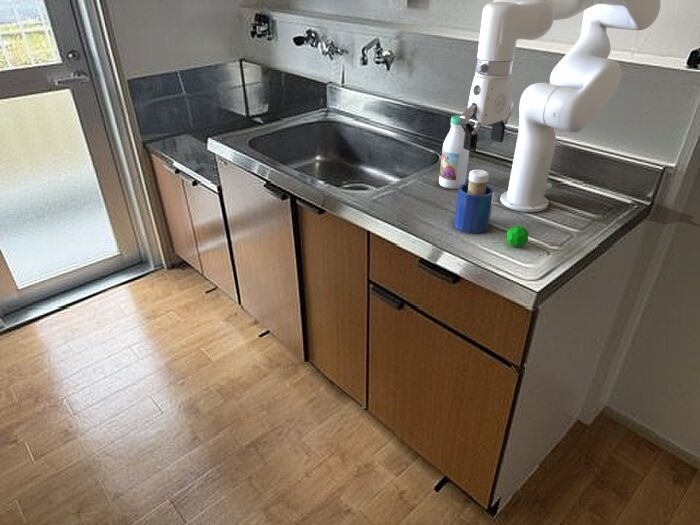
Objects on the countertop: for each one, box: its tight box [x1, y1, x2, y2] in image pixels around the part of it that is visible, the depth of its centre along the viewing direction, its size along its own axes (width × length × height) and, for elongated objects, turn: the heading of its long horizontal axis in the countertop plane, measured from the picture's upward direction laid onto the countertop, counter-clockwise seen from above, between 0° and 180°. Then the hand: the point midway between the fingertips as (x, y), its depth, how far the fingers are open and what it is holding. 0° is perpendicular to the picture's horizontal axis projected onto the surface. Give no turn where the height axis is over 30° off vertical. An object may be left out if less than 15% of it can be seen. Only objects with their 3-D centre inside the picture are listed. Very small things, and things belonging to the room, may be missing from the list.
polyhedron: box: [506, 225, 529, 248], centre depth 115 cm, size 5×5×5 cm
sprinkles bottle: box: [467, 169, 490, 195], centre depth 121 cm, size 5×5×14 cm
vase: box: [453, 182, 495, 235], centre depth 122 cm, size 8×8×10 cm
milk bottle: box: [438, 114, 470, 190], centre depth 142 cm, size 8×8×20 cm
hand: (483, 145), depth 114 cm, fingers open, 9 cm apart
